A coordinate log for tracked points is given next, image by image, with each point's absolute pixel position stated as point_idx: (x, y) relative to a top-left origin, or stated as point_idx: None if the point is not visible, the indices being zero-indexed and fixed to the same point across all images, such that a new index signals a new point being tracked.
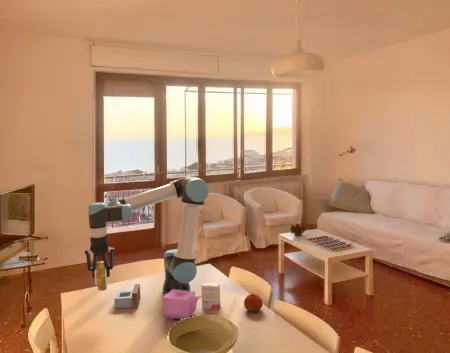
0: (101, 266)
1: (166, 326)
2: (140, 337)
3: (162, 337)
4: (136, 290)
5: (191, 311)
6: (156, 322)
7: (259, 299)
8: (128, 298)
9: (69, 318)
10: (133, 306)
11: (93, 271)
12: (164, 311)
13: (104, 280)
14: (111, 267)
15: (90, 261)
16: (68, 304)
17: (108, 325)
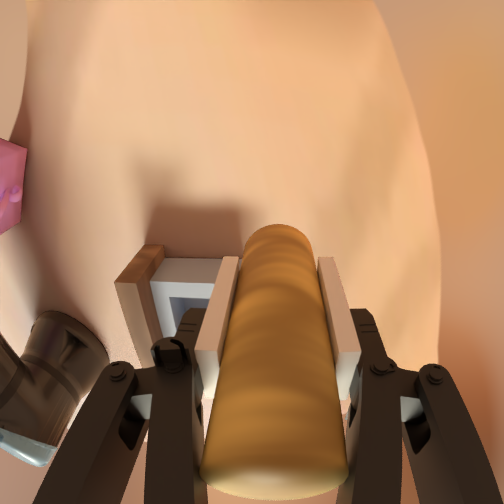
0: (245, 410)
1: (22, 98)
2: (86, 14)
3: (29, 30)
4: (127, 311)
5: None
6: (51, 123)
7: None
8: (169, 280)
9: (426, 202)
10: (156, 250)
11: (374, 358)
12: (11, 152)
13: (241, 279)
14: (109, 377)
15: (430, 487)
16: (433, 318)
17: (234, 98)
